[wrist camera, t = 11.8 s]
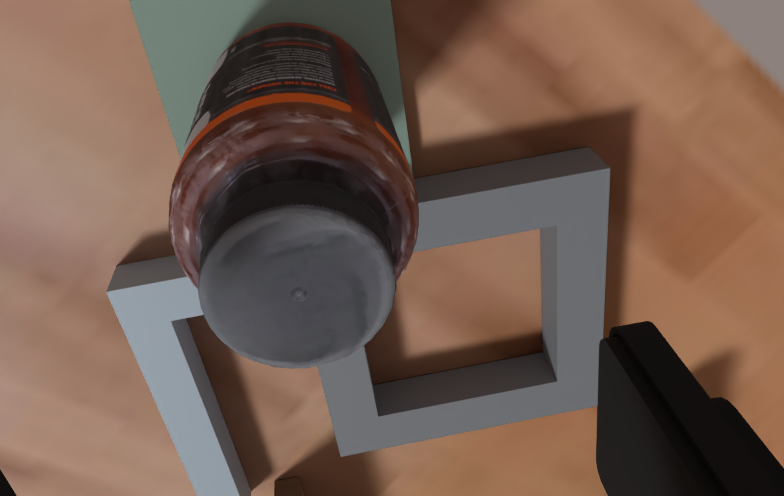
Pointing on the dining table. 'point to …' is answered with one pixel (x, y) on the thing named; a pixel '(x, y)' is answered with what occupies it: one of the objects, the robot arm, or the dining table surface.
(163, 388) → the crook tool
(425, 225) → the hole board
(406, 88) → the dining table surface
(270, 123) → the supplement bottle
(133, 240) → the dining table surface
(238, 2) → the pad
